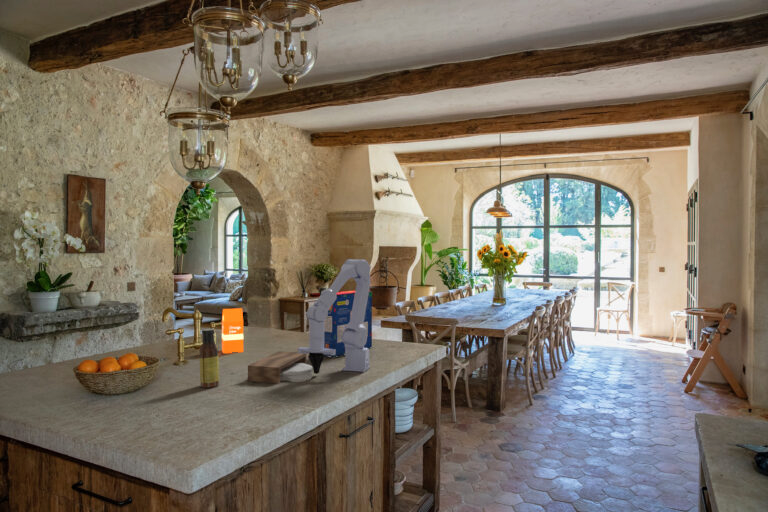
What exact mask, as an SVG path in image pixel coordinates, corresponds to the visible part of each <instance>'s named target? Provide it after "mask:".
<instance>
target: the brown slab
mask: <svg viewBox="0 0 768 512" xmlns="http://www.w3.org/2000/svg"><path fill="white" fill-rule="evenodd" d="M292 363H304V364H307V353H298V351H279V350H278V351H276V352H274V353H272V354H270V355H268V356H266V357H264V358H261V359H259V360H257V361H254V362H253V363H250V364H248V365H247V382H252V381H257V382H256V383H265V382H269V383H270V384H280V383H281V380H280V370H281V369H283V368H285V367H287V366H289V365H290V364H292Z"/></svg>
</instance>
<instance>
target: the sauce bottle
mask: <svg viewBox="0 0 768 512" xmlns="http://www.w3.org/2000/svg"><path fill="white" fill-rule="evenodd" d="M201 335H202V344H201V346H200V348H199V378H200V381H199V382H200V387H202V388H205V389H206V388H207V389H210V388H216V387H217V386H219V385H220V367H219V366H220V364H219V362H220V361H219V351H218V348H217V345H216V342H215V329H214V328H205V329H202V330H201Z"/></svg>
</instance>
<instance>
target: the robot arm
mask: <svg viewBox="0 0 768 512" xmlns="http://www.w3.org/2000/svg"><path fill="white" fill-rule="evenodd" d="M371 267H372V266H371V265H370V263H369V262H368V261H367V260H366V259H355V258H354V259H353V258H348V259H346V260H345V262H344V263H343V264H342V266H341V268H340V271H339V272H338V274H337V276H336V277H335V279H334V281H333V282H332V283H331V285H330V287H329V288H327V289H326V288H325V289H324V290H322V291H321V293H320V296H319V297H318V298H317V300H316V301H314V302H313V305H310V306H309V307H308V309H307V311H306V312H305V315H306V318H307V319H308V347H307V346H306V347H298V348H297V352H298V353H306V354H308V356H307V357H308V360H309V361H310V364H311V366H312V370H313V374H317V375H318V374H319V373H320V370H321V365H322V363H323V360H324V359H325V355H335V354H336V349H328V348H324V320H325V319H326V318H327V316H328V311H329V308H330V307H331V306H332V304H333V303H334V301H335V300H336V299H337V295H336V294H337V292H340V290H341V289H342V288H343V286H344V285H345V284H346V282H347V281H348V280H351V279H353V280H354V282H355V283H356V284H355V285H356V286H355V290H356V291H355V296H354V302H353V307H352V313H351V318H350V322H349V323H348V324H347V325H346V326H345V330H344V332H343V333H342V341H343V343H344V346H345V355H344V367H343V368H342V369H341V371H345V372H347V371H348V372H361V373H363V372H366V371H367V370H369V369H370V348H369V349H368V348H364V345H365V344H366V342H367V336H366V331H367V329H366V328H365V326H364V324H363V323H364V317H365V311H366V306H367V300H368V295H369V291H370V289H371V283H372V279H371V273H370V272H371ZM355 330H356V331H355Z"/></svg>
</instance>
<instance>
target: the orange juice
mask: <svg viewBox="0 0 768 512" xmlns="http://www.w3.org/2000/svg"><path fill="white" fill-rule="evenodd" d="M243 313H244V312H243V308H242V307H240V308H222V316H221V318H222V319H221V351H222V353H223V354H224V353H225V354H233V353H232V352H238V353H244V317H243Z"/></svg>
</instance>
